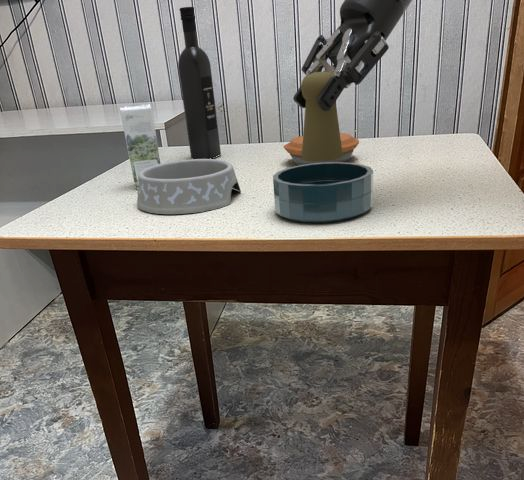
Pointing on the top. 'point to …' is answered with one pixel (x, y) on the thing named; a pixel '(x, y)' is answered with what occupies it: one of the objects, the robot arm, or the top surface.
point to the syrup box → (140, 138)
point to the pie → (296, 153)
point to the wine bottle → (197, 93)
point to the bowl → (323, 191)
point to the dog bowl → (186, 186)
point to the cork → (319, 122)
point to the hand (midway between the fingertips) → (310, 105)
